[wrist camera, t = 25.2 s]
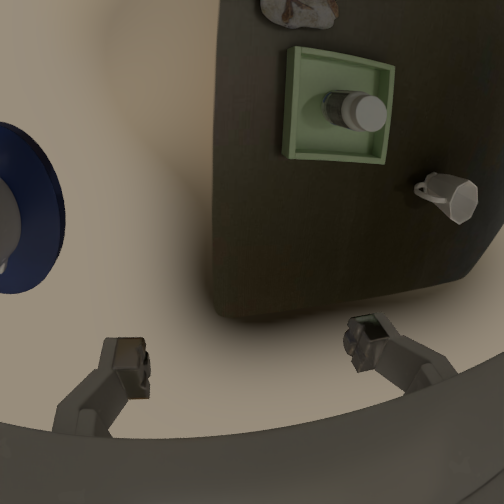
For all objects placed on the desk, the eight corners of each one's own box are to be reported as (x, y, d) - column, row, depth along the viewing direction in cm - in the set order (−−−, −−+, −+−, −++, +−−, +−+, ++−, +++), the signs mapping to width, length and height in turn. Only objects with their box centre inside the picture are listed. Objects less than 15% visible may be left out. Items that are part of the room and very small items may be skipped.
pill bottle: (330, 131, 37) (362, 143, 29) (314, 99, 34) (345, 103, 27) (359, 115, 36) (395, 124, 29) (344, 84, 34) (380, 85, 27)
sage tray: (281, 153, 38) (288, 159, 35) (287, 48, 31) (294, 45, 28) (373, 159, 40) (384, 164, 38) (382, 66, 33) (395, 66, 31)
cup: (442, 203, 46) (473, 223, 39) (399, 205, 45) (430, 227, 38) (449, 165, 43) (482, 181, 36) (405, 162, 41) (440, 178, 34)
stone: (259, 31, 29) (264, 27, 27) (253, -21, 26) (258, -27, 23) (334, 32, 31) (343, 29, 28) (328, -17, 27) (337, -22, 25)
